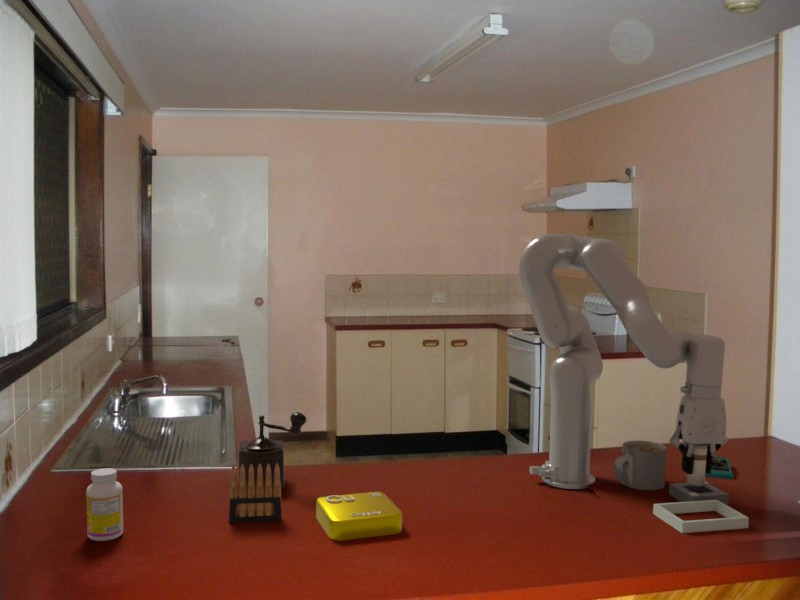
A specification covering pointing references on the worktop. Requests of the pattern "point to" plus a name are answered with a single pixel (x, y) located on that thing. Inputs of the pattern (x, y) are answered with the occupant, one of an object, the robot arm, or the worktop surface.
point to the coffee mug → (641, 465)
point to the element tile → (358, 515)
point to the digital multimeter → (720, 468)
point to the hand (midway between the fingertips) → (696, 471)
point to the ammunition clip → (255, 496)
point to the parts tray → (730, 522)
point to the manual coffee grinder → (267, 449)
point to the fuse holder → (697, 493)
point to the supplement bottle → (104, 506)
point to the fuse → (698, 466)
